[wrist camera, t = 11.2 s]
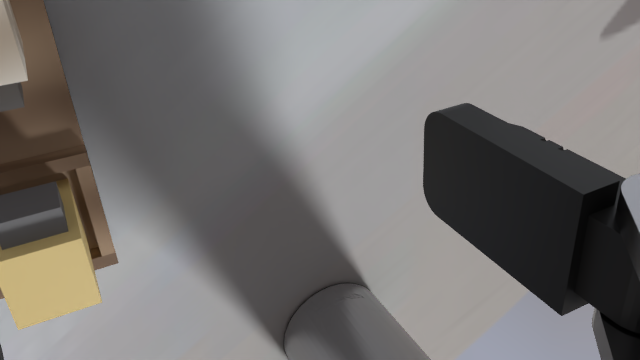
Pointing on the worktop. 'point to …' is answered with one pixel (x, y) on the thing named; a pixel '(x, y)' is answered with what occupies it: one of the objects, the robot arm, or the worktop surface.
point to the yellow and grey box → (44, 255)
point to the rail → (43, 121)
